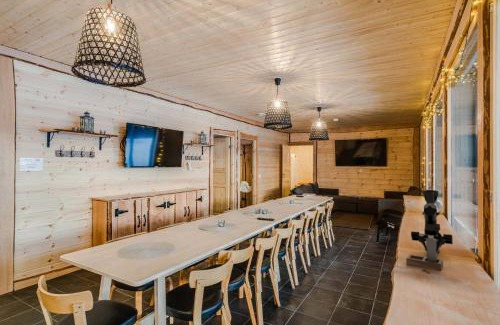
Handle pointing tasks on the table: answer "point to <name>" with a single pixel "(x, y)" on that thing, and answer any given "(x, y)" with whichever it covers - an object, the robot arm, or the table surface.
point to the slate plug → (431, 249)
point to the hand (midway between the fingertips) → (431, 251)
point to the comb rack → (424, 262)
